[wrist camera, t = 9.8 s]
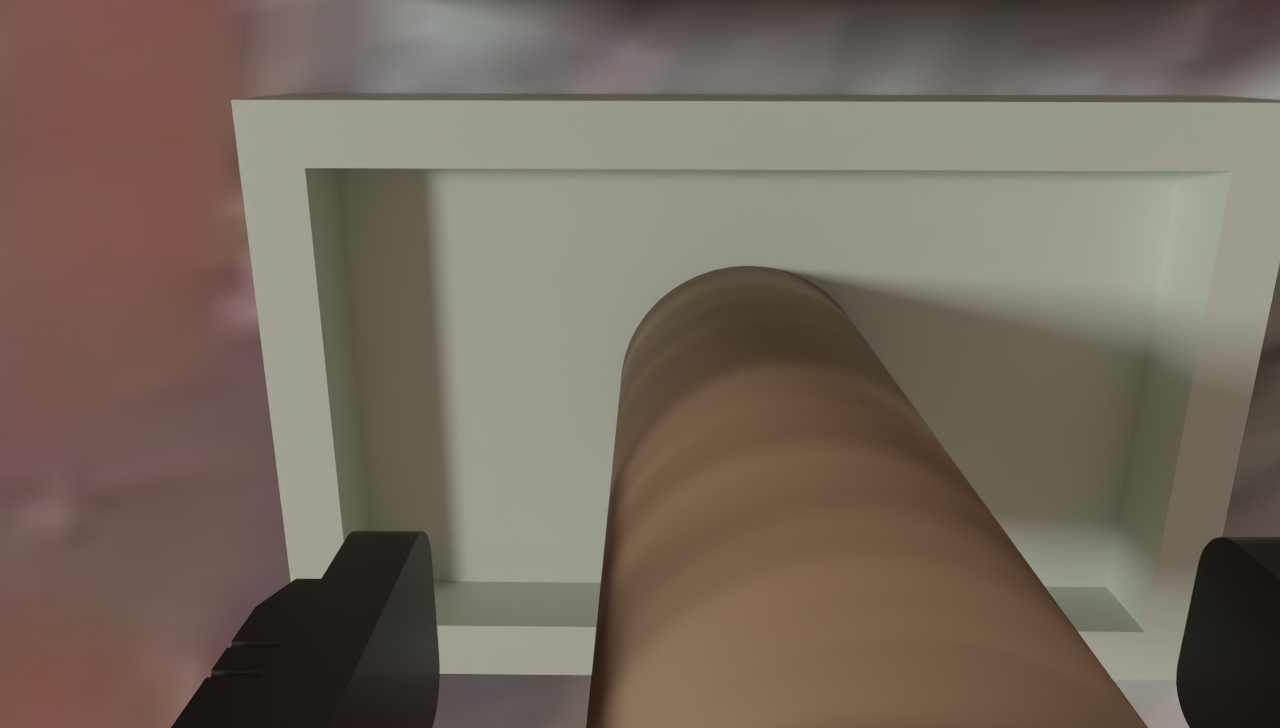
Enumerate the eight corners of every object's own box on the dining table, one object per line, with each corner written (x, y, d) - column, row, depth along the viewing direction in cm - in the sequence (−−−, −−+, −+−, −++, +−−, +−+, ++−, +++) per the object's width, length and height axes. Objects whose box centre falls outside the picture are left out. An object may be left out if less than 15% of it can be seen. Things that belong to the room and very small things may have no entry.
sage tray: (291, 93, 17) (230, 100, 14) (1218, 95, 17) (1312, 102, 14) (344, 597, 20) (302, 672, 17) (1126, 604, 20) (1192, 680, 17)
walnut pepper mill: (620, 265, 17) (562, 638, 6) (876, 266, 16) (1264, 643, 6) (621, 497, 18) (575, 1128, 7) (858, 499, 18) (1147, 1135, 7)
